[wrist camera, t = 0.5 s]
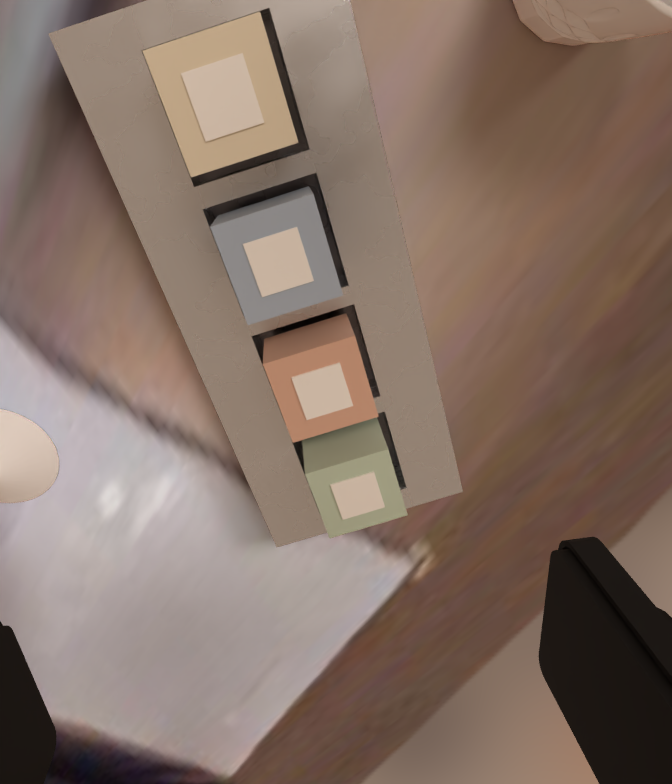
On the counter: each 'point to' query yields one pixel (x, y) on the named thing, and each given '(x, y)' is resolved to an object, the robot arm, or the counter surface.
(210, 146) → the key
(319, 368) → the key
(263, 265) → the key
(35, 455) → the champagne flute
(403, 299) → the keyguard pad
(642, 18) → the white cup
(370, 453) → the key
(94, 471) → the counter surface
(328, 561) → the counter surface
